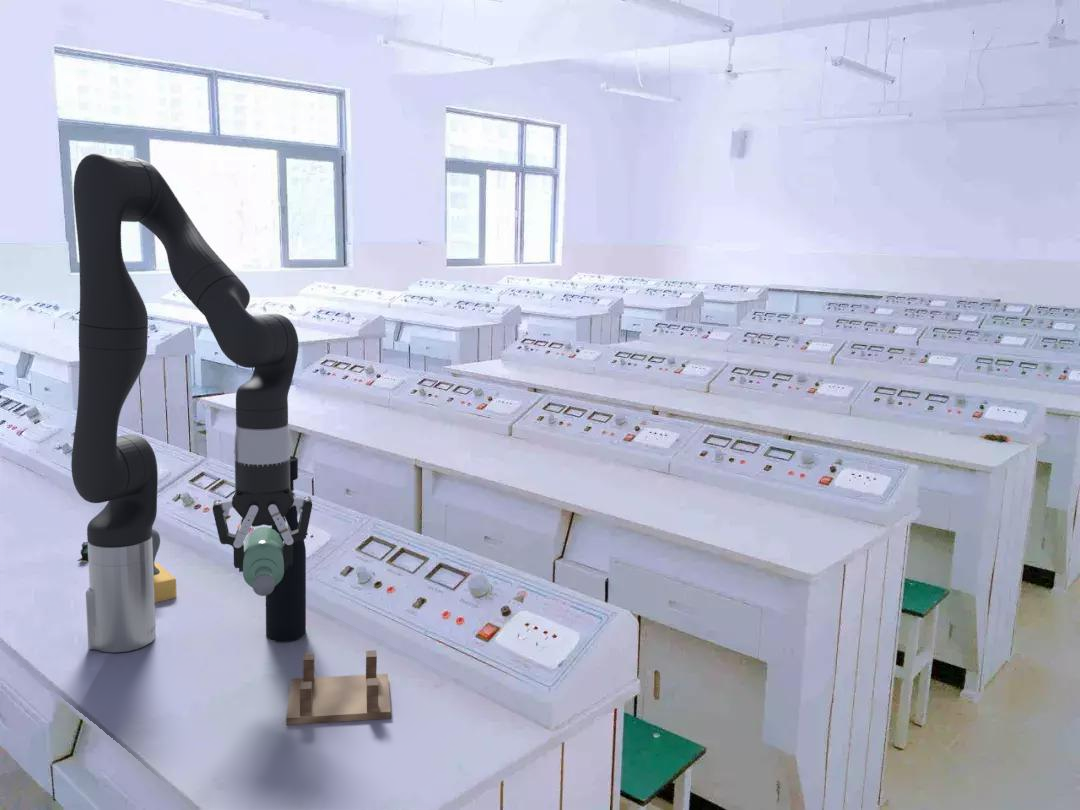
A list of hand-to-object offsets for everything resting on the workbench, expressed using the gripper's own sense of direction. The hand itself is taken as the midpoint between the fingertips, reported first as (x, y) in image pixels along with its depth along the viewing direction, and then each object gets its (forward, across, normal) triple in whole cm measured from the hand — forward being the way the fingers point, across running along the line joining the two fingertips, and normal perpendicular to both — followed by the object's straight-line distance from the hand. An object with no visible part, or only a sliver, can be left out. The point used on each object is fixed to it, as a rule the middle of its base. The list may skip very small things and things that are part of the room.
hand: (263, 568), depth 130 cm
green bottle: (+1, 0, -3) cm, 3 cm away
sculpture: (+18, -33, +57) cm, 68 cm away
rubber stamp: (+18, -20, +38) cm, 46 cm away
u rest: (+18, +10, -8) cm, 22 cm away
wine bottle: (+18, +3, +15) cm, 24 cm away
